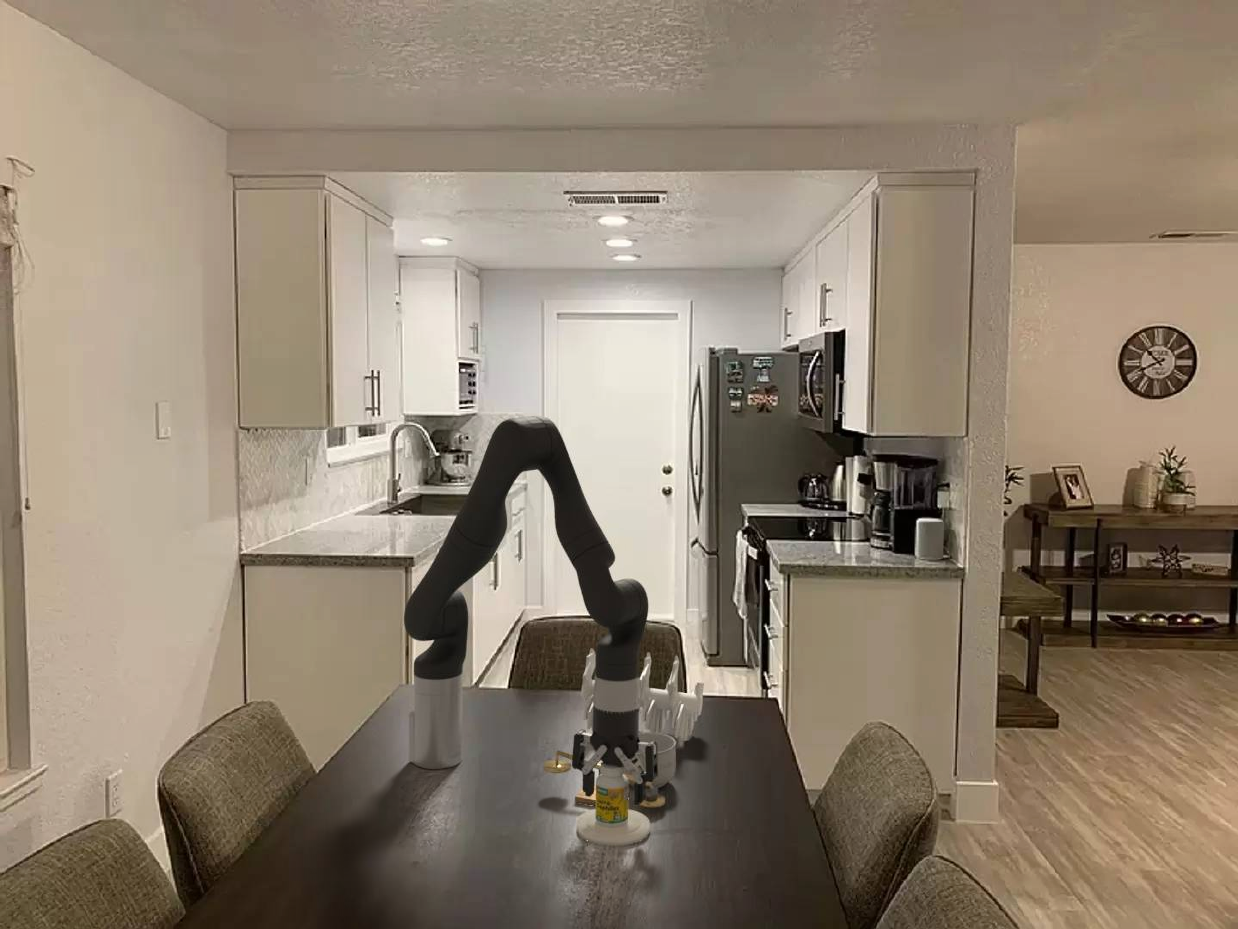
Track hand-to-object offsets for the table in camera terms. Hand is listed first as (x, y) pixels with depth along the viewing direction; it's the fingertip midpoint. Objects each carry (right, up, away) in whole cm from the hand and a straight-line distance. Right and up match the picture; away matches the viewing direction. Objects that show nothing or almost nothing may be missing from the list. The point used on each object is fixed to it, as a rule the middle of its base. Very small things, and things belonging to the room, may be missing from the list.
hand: (613, 799), depth 164 cm
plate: (0, -5, 0) cm, 5 cm away
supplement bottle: (0, -4, 0) cm, 4 cm away
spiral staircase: (+5, -2, +44) cm, 45 cm away
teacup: (+6, -4, +22) cm, 23 cm away
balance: (-2, -4, +12) cm, 13 cm away
